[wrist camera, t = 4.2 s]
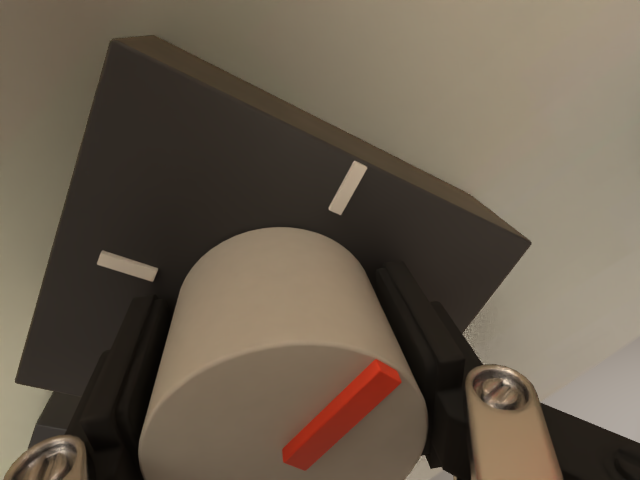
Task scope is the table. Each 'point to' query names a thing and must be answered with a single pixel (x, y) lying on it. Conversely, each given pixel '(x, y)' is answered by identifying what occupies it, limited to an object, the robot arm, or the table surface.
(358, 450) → the knob
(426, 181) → the panel
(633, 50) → the table surface
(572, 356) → the table surface
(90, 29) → the table surface
